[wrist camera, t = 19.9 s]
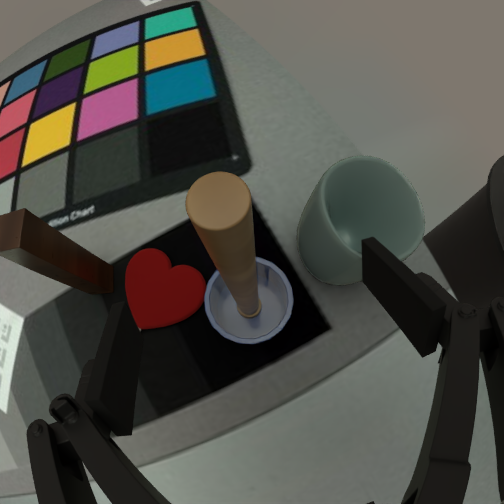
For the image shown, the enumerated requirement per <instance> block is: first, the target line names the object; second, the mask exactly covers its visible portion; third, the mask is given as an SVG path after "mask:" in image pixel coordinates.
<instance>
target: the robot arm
mask: <svg viewBox="0 0 504 504" xmlns="http://www.w3.org/2000/svg"><path fill="white" fill-rule="evenodd" d="M361 247H362V282H363V283H364V284H365V285H366V286H367V288H368V289H369V290H370V291H371V293H372V294H373V295H374V296H375V297H376V299H377V300H378V301H379V302H380V304H381V305H382V306H383V307H384V309H385V310H386V311H387V312H388V314H389V315H390V316H391V317H392V319H393V320H394V321H395V323H396V324H397V325H398V326H399V328H400V329H401V330H402V332H403V333H404V334H405V335H406V337H407V338H408V339H409V341H410V342H411V343H412V345H413V346H414V347H415V349H416V350H417V351H418V353H419V354H420V355H421V357H422V358H423V357H425V356H427V355H429V354H431V353H433V352H435V351H436V348H437V344H438V342H439V344H440V345H441V346H442V347H443V348H442V351H441V355H440V358H439V361H438V363H440V364H439V371H438V377H437V383H436V388H435V393H434V398H433V403H432V408H431V412H430V417H429V421H428V425H427V429H426V433H425V437H424V441H423V444H422V448H421V451H420V455H419V458H418V461H417V464H416V468H415V471H414V474H413V477H412V480H411V482H410V485H409V487H408V489H407V491H406V493H405V495H404V497H403V500H402V502H401V504H462V503H463V500H464V496H465V492H466V489H467V485H468V480H469V476H470V471H471V464H470V463H469V462H468V457H469V452H470V447H471V441H472V435H473V428H474V421H475V413H476V404H477V394H478V380H479V358H480V359H481V363H482V368H483V372H484V376H485V381H486V386H487V391H488V396H489V402H490V408H491V414H492V421H493V428H494V436H495V445H496V456H497V471H498V486H499V493H500V499H501V503H500V504H504V297H496V298H494V299H493V300H492V302H491V305H490V307H488V308H482V309H477V308H476V307H475V306H473V305H471V304H468V303H459V302H458V301H457V300H456V299H455V298H454V297H453V296H452V295H450V294H449V293H448V292H447V291H446V290H445V289H444V288H442V286H441V285H440V284H439V283H437V281H435V280H434V279H433V278H432V277H431V276H429V275H427V274H425V273H423V272H421V273H418V274H414V273H413V272H412V271H411V270H410V269H409V268H408V267H407V266H406V265H405V264H404V263H403V262H402V261H400V260H399V259H398V258H397V257H396V256H395V255H394V254H393V253H392V252H390V251H389V250H388V249H387V248H386V247H385V246H384V245H383V244H381V243H380V242H379V241H378V240H377V239H376V238H375V237H369V238H366V239H362V240H361ZM143 341H144V338H143V336H142V334H141V332H140V330H139V328H138V326H137V325H136V323H135V321H134V319H133V317H132V315H131V313H130V311H129V309H128V307H127V305H126V303H125V301H123V302H119V303H115V304H112V307H111V310H110V313H109V316H108V319H107V322H106V325H105V328H104V331H103V334H102V337H101V341H100V344H99V347H98V351H97V354H96V357H95V359H93V360H89V361H88V362H87V363H86V365H85V366H84V368H83V371H82V374H81V378H80V381H79V384H78V388H77V391H76V395H75V399H73V397H72V396H70V395H69V394H61V395H59V396H57V397H56V398H55V399H54V400H53V401H52V402H51V404H50V407H49V412H50V415H51V416H52V417H53V418H54V419H55V420H56V421H57V422H55V423H52V424H49V425H48V424H47V423H46V422H45V421H44V420H42V419H38V420H35V421H34V422H32V423H31V424H30V426H29V427H28V429H27V442H28V450H29V457H30V463H31V469H32V474H33V479H34V484H35V489H36V494H37V498H38V502H39V504H97V502H96V499H95V497H94V494H93V491H92V489H91V486H90V483H89V480H88V477H87V475H86V472H85V469H84V466H83V463H84V465H85V466H86V468H87V469H88V471H89V472H90V474H91V475H92V477H93V478H94V479H95V481H96V482H97V484H98V485H99V487H100V488H101V489H102V491H103V492H104V493H105V495H106V496H107V497H108V499H109V500H110V501H111V503H112V504H171V503H170V502H169V501H168V500H167V499H166V498H165V497H164V496H163V495H162V494H161V493H160V492H159V491H158V490H157V489H156V488H155V487H154V486H153V485H152V484H151V483H150V482H149V481H148V480H147V479H146V478H145V477H144V476H143V474H142V473H141V472H140V471H139V470H138V469H137V468H136V467H135V466H134V464H133V463H132V462H131V461H130V460H129V459H128V458H127V456H126V455H125V454H124V453H123V452H122V450H121V449H120V448H119V447H118V445H117V444H116V443H115V442H114V441H113V439H112V438H110V432H111V430H112V431H113V433H114V434H115V435H116V436H128V435H132V429H133V418H134V409H135V400H136V391H137V383H138V375H139V368H140V361H141V354H142V348H143ZM82 461H83V462H82ZM367 504H375V503H374V501H372V502H370V503H367Z"/></svg>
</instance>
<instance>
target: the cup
mask: <svg viewBox="0 0 504 504" xmlns="http://www.w3.org/2000/svg"><path fill="white" fill-rule="evenodd" d="M424 229H425V219H424V211H423V208H422V204H421V201H420V199H419V197H418V194H417V192H416V191H415V189H414V188H413V186H412V184H411V183H410V181H409V180H408V179H407V178H406V176H405V175H404V174H403V173H402V172H401V171H400V170H398V169H397V168H396V167H395V166H393V165H392V164H390V163H389V162H387V161H384V160H382V159H380V158H375V157H371V156H354V157H349V158H346V159H342V160H340V161H339V162H337V163H335V164H333V165H332V166H331V167H330V168H329V169H328V170H327V171H326V172H325V173H324V174H323V176H322V177H321V179H320V181H319V182H318V184H317V185H316V187H315V189H314V191H313V192H312V194H311V196H310V198H309V200H308V202H307V203H306V205H305V207H304V210H303V212H302V214H301V217H300V221H299V224H298V228H297V248H298V252H299V255H300V258H301V260H302V262H303V264H304V266H305V267H306V269H307V270H308V272H309V273H310V274H311V275H312V276H313V277H315V278H316V279H318V280H319V281H321V282H323V283H326V284H329V285H338V286H341V285H350V284H354V283H358V282H361V281H362V247H361V240H362V239H366V238H369V237H375V238H376V239H377V240H378V241H379V242H380V243H381V244H383V245H384V246H385V247H386V248H387V249H388V250H389V251H390V252H392V253H393V254H394V255H395V256H396V257H397V258H398V259H399V260H400V261H403V260H405V259H406V258H408V257H409V256H410V255H411V254H412V253H413V252H414V251H415V250H416V249H417V247H418V246H419V244H420V243H421V241H422V238H423V235H424Z"/></svg>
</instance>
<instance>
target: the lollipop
mask: <svg viewBox="0 0 504 504" xmlns="http://www.w3.org/2000/svg"><path fill="white" fill-rule="evenodd" d="M206 288H207V287H206V282H205V280H204V278H203V276H202V274H201V273H200V272H199V271H198V270H196V269H195V268H193V267H191V266H187V265H178V266H175V267H173V268H172V265H171V262H170V259H169V258H168V256H167V255H166V254H165V253H163V252H162V251H160V250H158V249H154V248H149V249H144V250H141V251H139V252H138V253H136V254H135V255H134V256H133V257H132V259H131V260H130V262H129V264H128V266H127V269H126V275H125V290H126V295H127V300H128V304H129V307H130V310H131V313H132V315H133V318H134V320H135V322H136V324H137V326H138V328H139V330H140V331H141V329H152V328H159V327H165V326H168V325H172V324H175V323H178V322H181V321H183V320H185V319H186V318H188V317H190V316H191V315H192V314H194V313H195V312H196V311H197V310H198V309H199V308H200V307H201V306H202V304H203V302H204V295H205V291H206Z"/></svg>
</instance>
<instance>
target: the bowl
mask: <svg viewBox="0 0 504 504" xmlns="http://www.w3.org/2000/svg"><path fill="white" fill-rule="evenodd" d="M256 271H257V285H258V298H259V299H260V301H261V312H260V313H259V315H258V316H257V317H255V318H252V319H247V318H244V317H243V316H241V315H240V313H239V312H238V310H237V303H236V302H235V300H234V298H233V296H232V294H231V293H230V291H229V289H228V287H227V286H226V284H225V282H224V280H223V278H222V277H221V275H220V273H219V271H218V269H217V270H216V271H215V273H214V274H213V276H212V277H211V278H210V280H209V281H208V284H207V288H206V291H205V295H204V302H205V312H206V314H207V316H208V318H209V321H210V323H211V325H212V326H213V327H214V328H215V329H216V330H217V331H218V332H219V333H220V334H221V335H222V336H223V337H225V338H227V339H229V340H232V341H234V342H236V343H240V344H252V345H255V344H259V343H263V342H266V341H268V340H270V339H271V338H273V337H274V336H275V335H276V334H278V333H279V332H280V331H281V330H282V329H283V328H284V326H285V325H286V323H287V321H288V320H289V318H290V316H291V312H292V308H293V303H294V299H293V293H292V286H291V284H290V282H289V281H288V279H287V277H286V275H285V273H284V272H283V271H282V270H281V269H279V268H278V267H277V266H276V265H275V264H274V263H272V262H270V261H267V260H265V259H262V258H260V257H256Z"/></svg>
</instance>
